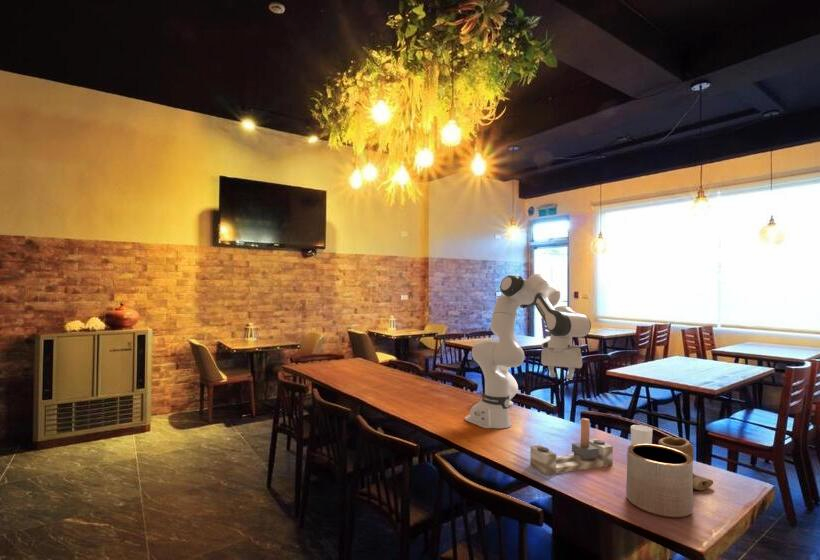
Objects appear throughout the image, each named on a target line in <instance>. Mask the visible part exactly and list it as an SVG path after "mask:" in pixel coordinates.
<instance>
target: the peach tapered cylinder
mask: <svg viewBox="0 0 820 560" xmlns="http://www.w3.org/2000/svg"><path fill="white" fill-rule="evenodd" d="M590 423H591V422H590V419H589V418H585V417H581V419H580V442H573V443H571V452H572V453H573V454H574V455H580V456H581V460H590V459H596V457H598V448H596V447H594V446H592V445H590V444H589V439H590Z"/></svg>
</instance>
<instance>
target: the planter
mask: <svg viewBox="0 0 820 560" xmlns="http://www.w3.org/2000/svg"><path fill="white" fill-rule="evenodd" d="M626 452H627V453H626V454H627V455H626V456H627V457H626V458H627V459H626V484H625V485H626V486H625V487H626V488H625V490H626V491H625V492H626V493H625V494H626V499H628V501H629V502H631V504H633V506H635V507H637V508H638V509H640V510H641V511H644V512H646V513H648V512H649V514H651V515H655V516H658V517H663V518H673V519H676V518H685V517H687V516H689V515H691V514H692V512H693V507H694V489H693V474H694V464H693V463H694V459H693V460H692V458H691V457H690V456H689V455H687V454H686V453H684V452H681V451H679V450H676V449H673V448H670V447H666V446H661V445H658V444H653V443H652V444H633V445H629V446H628V447H627V451H626Z"/></svg>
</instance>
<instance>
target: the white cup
mask: <svg viewBox="0 0 820 560" xmlns="http://www.w3.org/2000/svg"><path fill="white" fill-rule="evenodd" d="M653 430H654V429H653V428H651V427H650V426H646V425H641V424H632V425H630V443H631V445H633V444H653V433H654V432H653Z"/></svg>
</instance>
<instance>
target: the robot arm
mask: <svg viewBox="0 0 820 560" xmlns="http://www.w3.org/2000/svg"><path fill="white" fill-rule="evenodd" d="M499 289H500V292H501V293H502V294H501V295H499V296H498V298H496V301H495V305H494V307H493V313H492V317H491V323H490V330H491V332H492V333H493V334H494V335H495V336H496V337H498V339H499V340H498V341H499V342H495V341H478V342H476V343H474V345H472V349H471V356H472V358H473V361H475V362H476V363H477V365H478V366H479V367H480V369H481V371H482V374H483V377H484V393H482V394H481V395H480V398H481V400H479V401H478V402H477V403H475V404H474V405H473V406H472V407H471V408H470V412H469V414H468V415H466V416H465V417H464V420H465V421H467V422H469V423H471V424H474V425H476V426H479V427H481V428H484V429H507V428H510V427H512V421H511V418H510V417H511V416H510V410H509V407H510V405H509V395H508V391H509V381H508V378H507V377H506V375H504V374H503V373H501V372H500V370H499V368H498V366H504V367H511V368H517V367H520V366H521V365H522V364H523V363H524V360H525V352H524V350H523V348H522V346H520V344H518V342H517V340H516V338H515V323H516V316H517V311H518V309H519V308H521V309H525V308H530V307H533V306H535V308H536V309H537V311H538V313H539V314H540V315H541V318H542V319H543V320H544V323H545V326H546V328H547V330H548V332H549V333H550V336H549V338H550V339H549V340H547V341H545V342H542V343H541V348H542V349H541V355H540V356H541V357H540V360H541V364H542V366H547V369H548V371H549V377H550V378H556V377H557V376H556V372H555V371H554V370H555V367H558V368H560V367H561V368H568V374H566V379H567V380H573V376H574V373H575V370H576V369H582V367H583V359H582V358H583V357H582V349H581V347H579V345H577V344H574V345H573V337H574V338H584V337H586V336H588V335H589V334H590V331H591V328H592V323H591V319H590V318H589V317H588V316H587V315H586V314H582V313H580V312H577V311H574V310H573V309H572V308H571V307H569V306H566V305H562V306H561V305H560V306H556V305H557V304H558V303H559V301H560V299H561V292H560V289H559V288H558V286H556V285H555V284H554V283H553V281H551V280H550V279H549V278H548V277H546V276H545V275H543V274H541V273H533V274H531V275H530V276H528V278H526V279H525V278H523V276H519V275H518V276H517V275H510V274H509V275H507V276H505V277H504V278H503V279H502V280H501V282H500V286H499ZM555 306H556V307H555Z"/></svg>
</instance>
